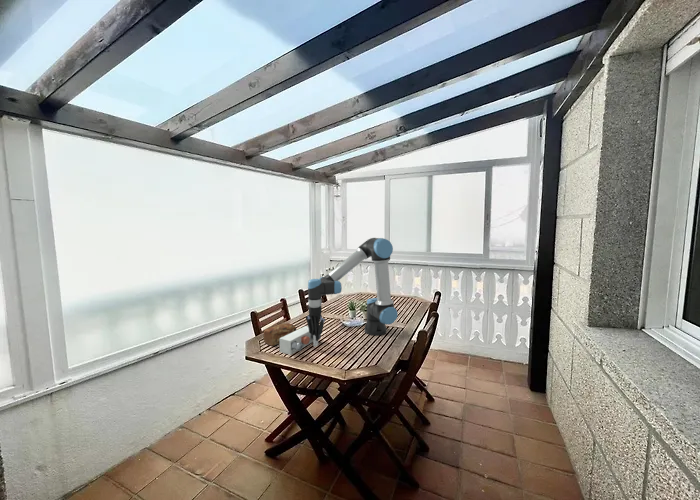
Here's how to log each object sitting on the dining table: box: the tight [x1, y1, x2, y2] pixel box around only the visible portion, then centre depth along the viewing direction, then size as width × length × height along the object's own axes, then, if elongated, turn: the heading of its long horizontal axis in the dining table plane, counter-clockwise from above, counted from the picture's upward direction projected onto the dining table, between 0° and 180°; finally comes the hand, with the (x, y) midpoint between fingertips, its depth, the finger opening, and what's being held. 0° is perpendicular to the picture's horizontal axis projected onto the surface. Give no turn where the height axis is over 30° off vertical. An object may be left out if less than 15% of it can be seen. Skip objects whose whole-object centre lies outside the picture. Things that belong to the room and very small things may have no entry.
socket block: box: [279, 325, 313, 356], centre depth 174 cm, size 8×24×8 cm, turn 150°
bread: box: [262, 322, 297, 347], centre depth 182 cm, size 19×11×10 cm, turn 137°
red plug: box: [301, 336, 310, 346], centre depth 173 cm, size 11×5×5 cm, turn 61°
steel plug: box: [291, 342, 304, 352], centre depth 165 cm, size 11×5×5 cm, turn 61°
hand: (315, 345), depth 168 cm, fingers closed
